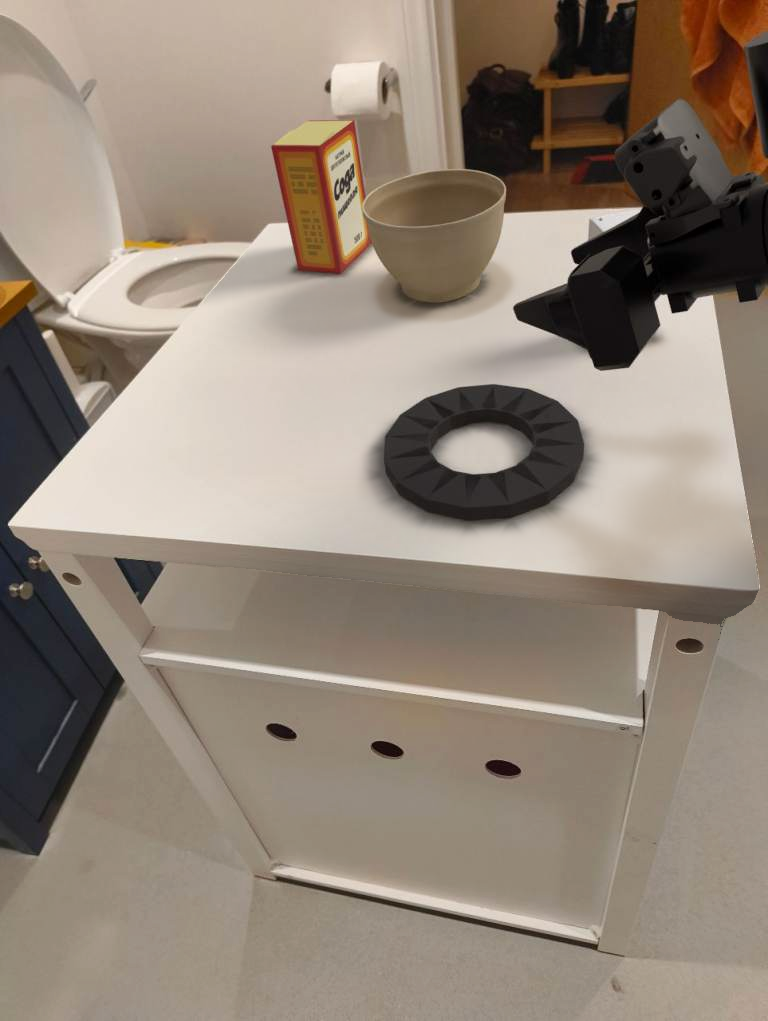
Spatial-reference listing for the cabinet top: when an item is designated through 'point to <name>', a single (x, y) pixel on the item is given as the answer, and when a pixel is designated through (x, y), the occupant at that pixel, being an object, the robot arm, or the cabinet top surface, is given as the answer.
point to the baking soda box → (323, 194)
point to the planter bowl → (436, 230)
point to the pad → (488, 492)
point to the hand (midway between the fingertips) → (545, 283)
